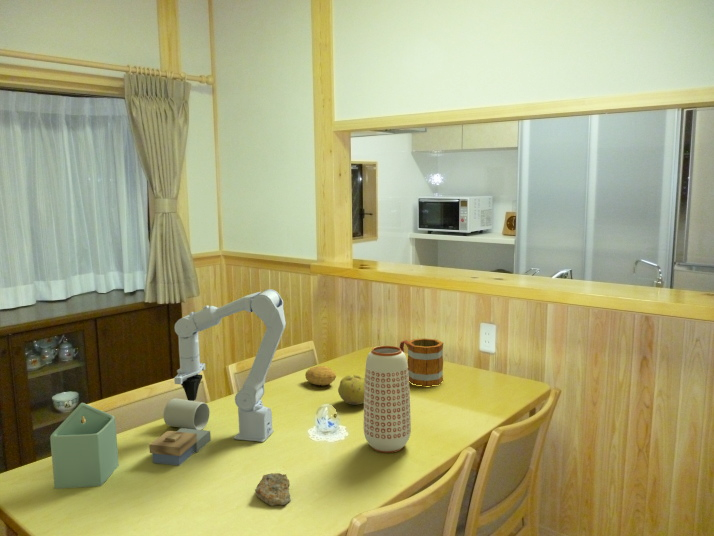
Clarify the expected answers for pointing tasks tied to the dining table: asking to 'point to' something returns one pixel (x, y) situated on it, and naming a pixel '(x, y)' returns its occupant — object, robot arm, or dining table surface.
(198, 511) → the dining table surface
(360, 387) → the fruit
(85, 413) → the planter
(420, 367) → the mug
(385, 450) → the vase
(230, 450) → the dining table surface
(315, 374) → the potato
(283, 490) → the rock
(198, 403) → the mug
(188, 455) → the blue open tray
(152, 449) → the lid
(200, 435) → the stand
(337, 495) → the dining table surface
